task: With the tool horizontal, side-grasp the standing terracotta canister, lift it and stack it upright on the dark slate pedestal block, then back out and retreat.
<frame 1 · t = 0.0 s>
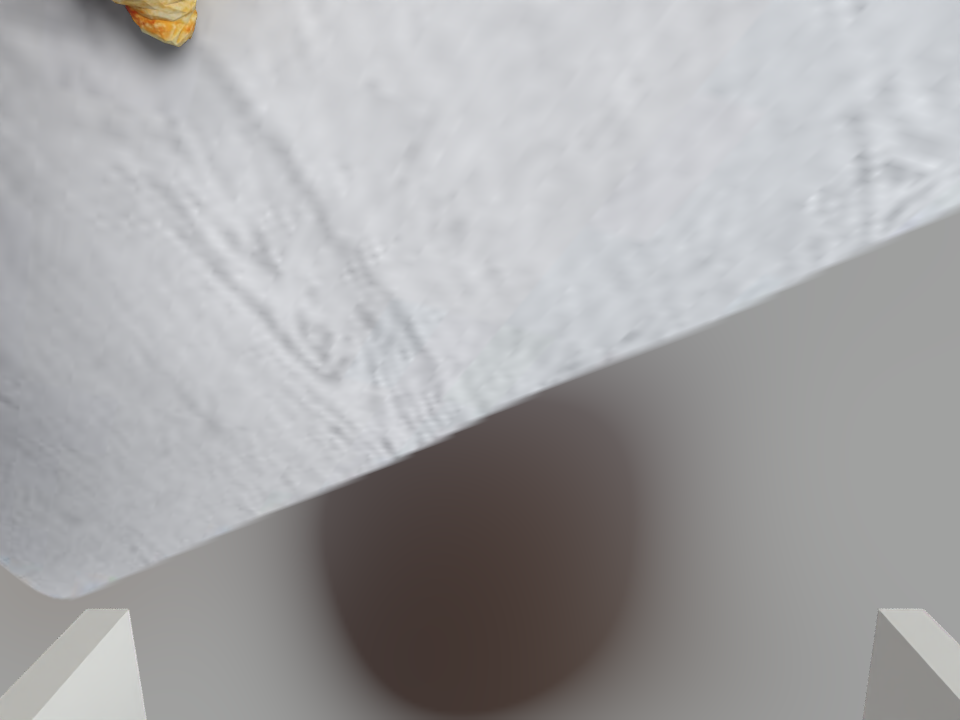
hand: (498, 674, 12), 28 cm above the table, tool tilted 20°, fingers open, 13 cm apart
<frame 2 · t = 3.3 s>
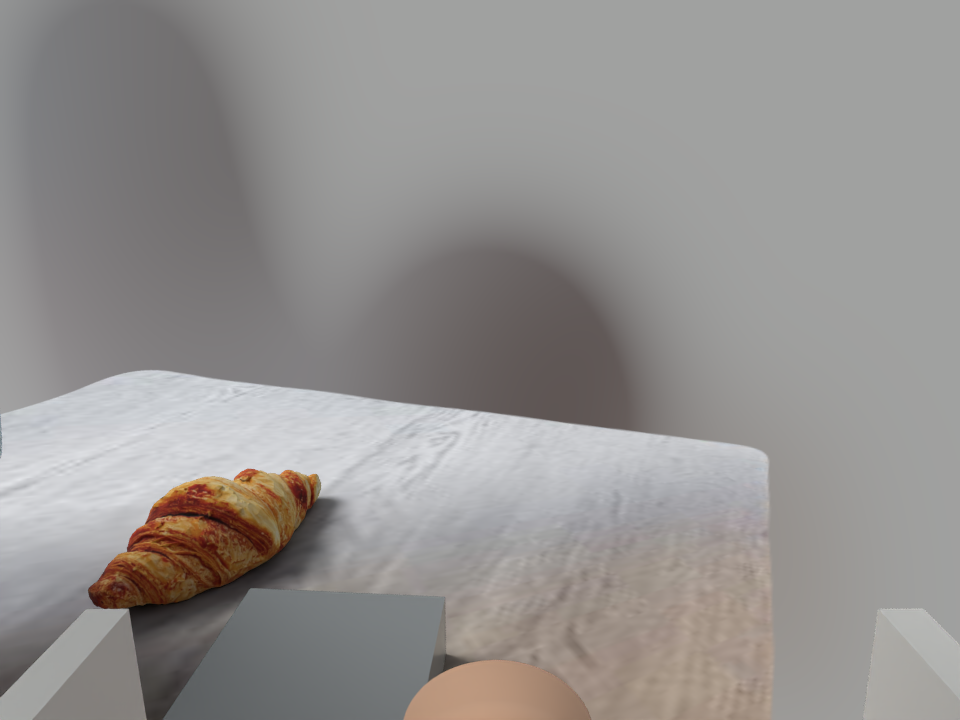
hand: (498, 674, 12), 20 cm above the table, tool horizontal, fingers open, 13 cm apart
croissant: (229, 558, 54), on the table
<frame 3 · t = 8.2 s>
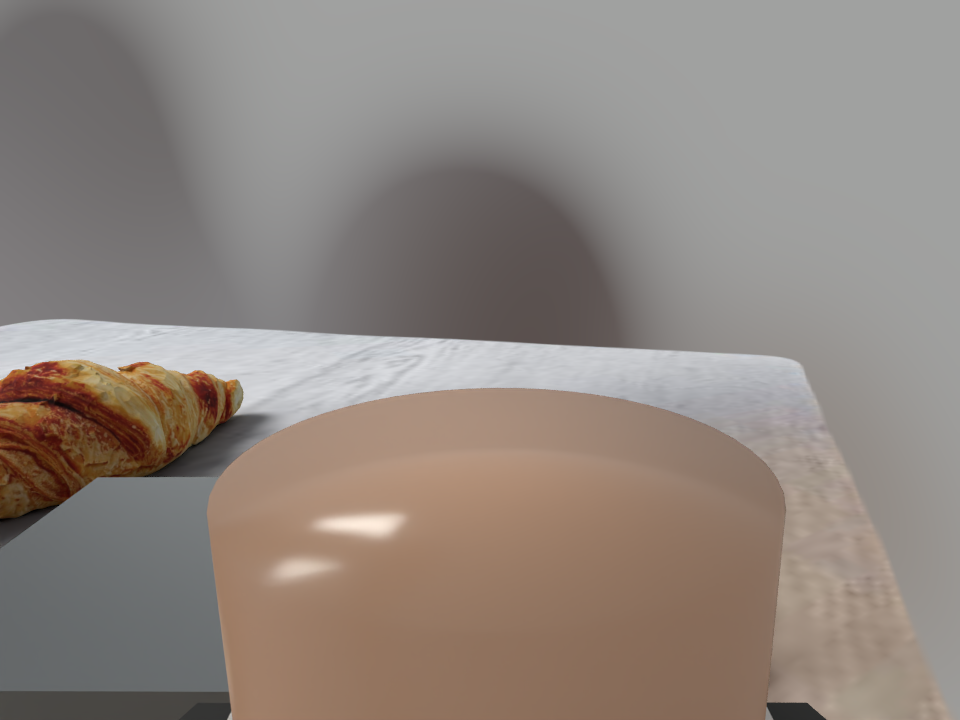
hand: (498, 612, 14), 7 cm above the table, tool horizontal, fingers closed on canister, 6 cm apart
pedestal: (194, 665, 23), on the table
croissant: (102, 474, 39), on the table
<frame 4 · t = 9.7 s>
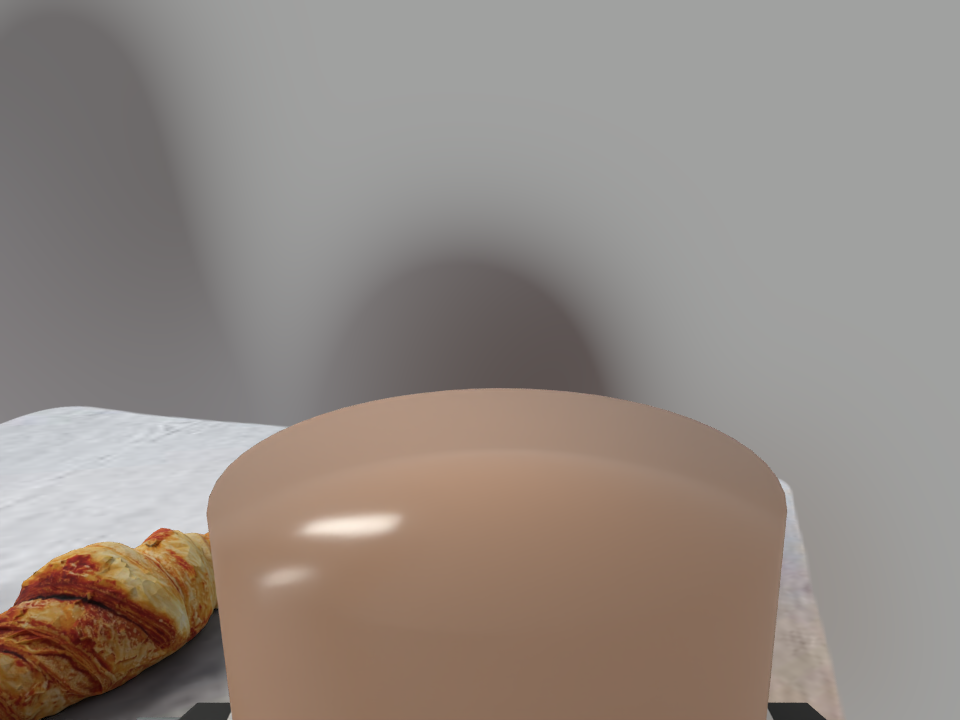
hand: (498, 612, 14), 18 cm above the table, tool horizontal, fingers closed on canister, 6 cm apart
croissant: (130, 647, 42), on the table
when the fingers open (12 cm above the table, at t = 12.3 s): canister drops 2 cm, resting on pedestal.
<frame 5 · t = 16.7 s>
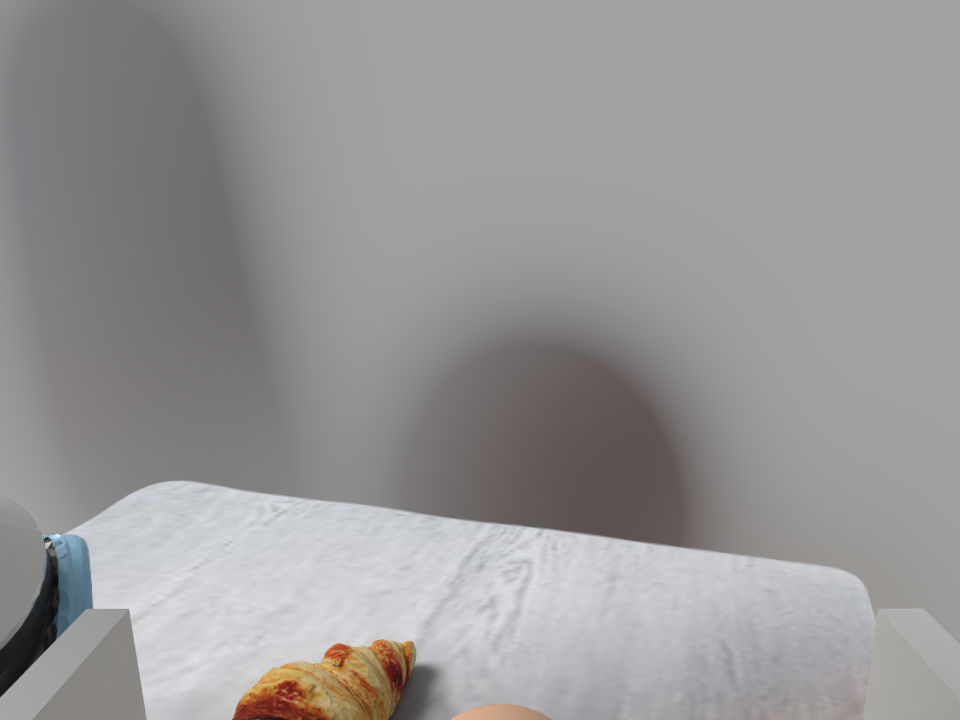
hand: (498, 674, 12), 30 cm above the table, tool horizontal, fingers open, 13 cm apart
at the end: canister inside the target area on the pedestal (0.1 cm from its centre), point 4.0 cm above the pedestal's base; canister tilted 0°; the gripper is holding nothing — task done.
